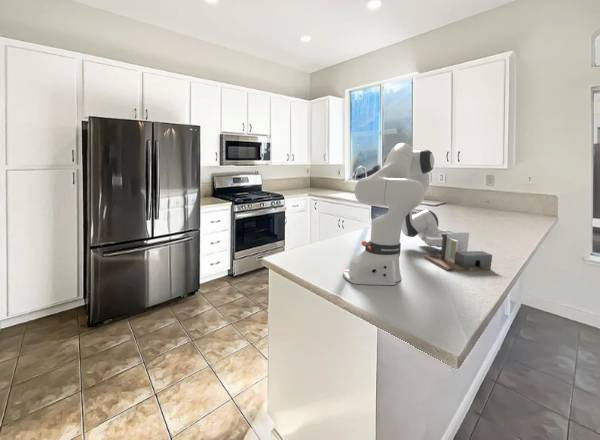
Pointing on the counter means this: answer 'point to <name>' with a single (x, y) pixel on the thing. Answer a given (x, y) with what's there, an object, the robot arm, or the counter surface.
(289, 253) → the counter surface
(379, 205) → the robot arm
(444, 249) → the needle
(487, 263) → the stand
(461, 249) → the light grey boxy piece
